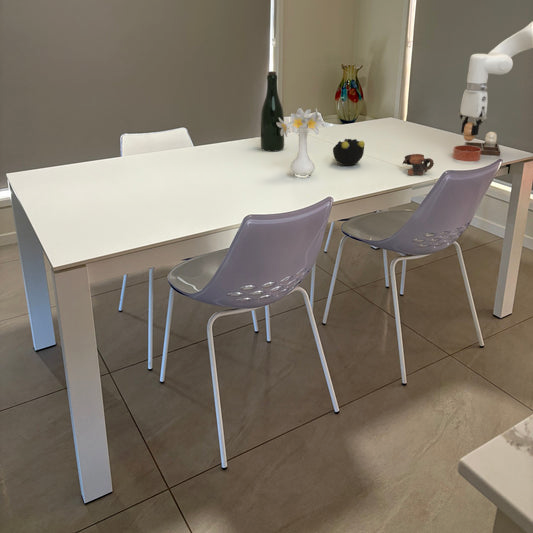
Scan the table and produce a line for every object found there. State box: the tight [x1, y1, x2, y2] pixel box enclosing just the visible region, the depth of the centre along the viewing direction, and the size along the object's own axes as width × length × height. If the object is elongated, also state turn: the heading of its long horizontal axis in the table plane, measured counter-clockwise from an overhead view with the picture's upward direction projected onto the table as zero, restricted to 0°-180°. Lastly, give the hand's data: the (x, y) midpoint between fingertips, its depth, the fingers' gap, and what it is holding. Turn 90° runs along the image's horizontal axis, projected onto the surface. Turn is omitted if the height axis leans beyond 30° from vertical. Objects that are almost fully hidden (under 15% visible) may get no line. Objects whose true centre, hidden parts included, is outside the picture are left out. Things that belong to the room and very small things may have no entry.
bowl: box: [452, 144, 482, 162], centre depth 242 cm, size 11×11×4 cm
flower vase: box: [276, 107, 326, 179], centre depth 218 cm, size 13×18×25 cm
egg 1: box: [462, 121, 476, 142], centre depth 238 cm, size 5×5×8 cm
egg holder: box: [464, 141, 501, 157], centre depth 253 cm, size 14×14×2 cm
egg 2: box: [484, 131, 498, 147], centre depth 254 cm, size 5×5×8 cm
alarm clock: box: [332, 138, 366, 166], centre depth 236 cm, size 12×15×15 cm
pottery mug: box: [402, 153, 435, 176], centre depth 226 cm, size 12×10×8 cm
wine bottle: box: [260, 70, 285, 152], centre depth 255 cm, size 10×10×33 cm
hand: (469, 133), depth 239 cm, fingers closed on egg 1, 4 cm apart
